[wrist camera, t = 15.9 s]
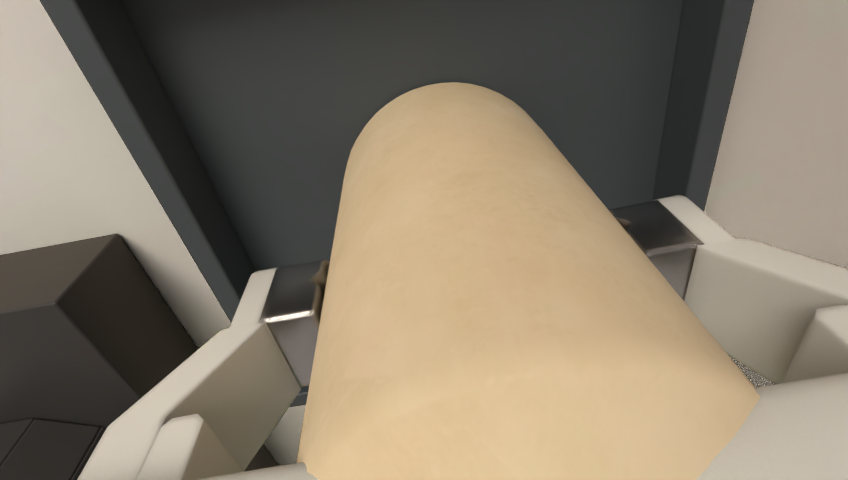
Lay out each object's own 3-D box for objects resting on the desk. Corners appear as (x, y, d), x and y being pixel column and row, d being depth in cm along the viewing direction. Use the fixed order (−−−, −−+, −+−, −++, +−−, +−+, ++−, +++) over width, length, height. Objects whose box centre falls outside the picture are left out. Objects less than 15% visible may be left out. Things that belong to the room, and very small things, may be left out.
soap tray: (73, -59, 9) (2, -59, 7) (727, -195, 8) (810, -228, 7) (291, 362, 16) (281, 409, 15) (643, 301, 16) (673, 343, 14)
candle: (498, 276, 14) (658, 747, 6) (327, 240, 13) (227, 778, 5) (582, 114, 11) (1125, 594, 3) (373, 47, 10) (322, 565, 2)
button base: (-141, 280, 13) (-384, 438, 9) (118, 232, 13) (-9, 372, 9) (122, 500, 21) (57, 637, 17) (284, 473, 21) (259, 606, 17)
